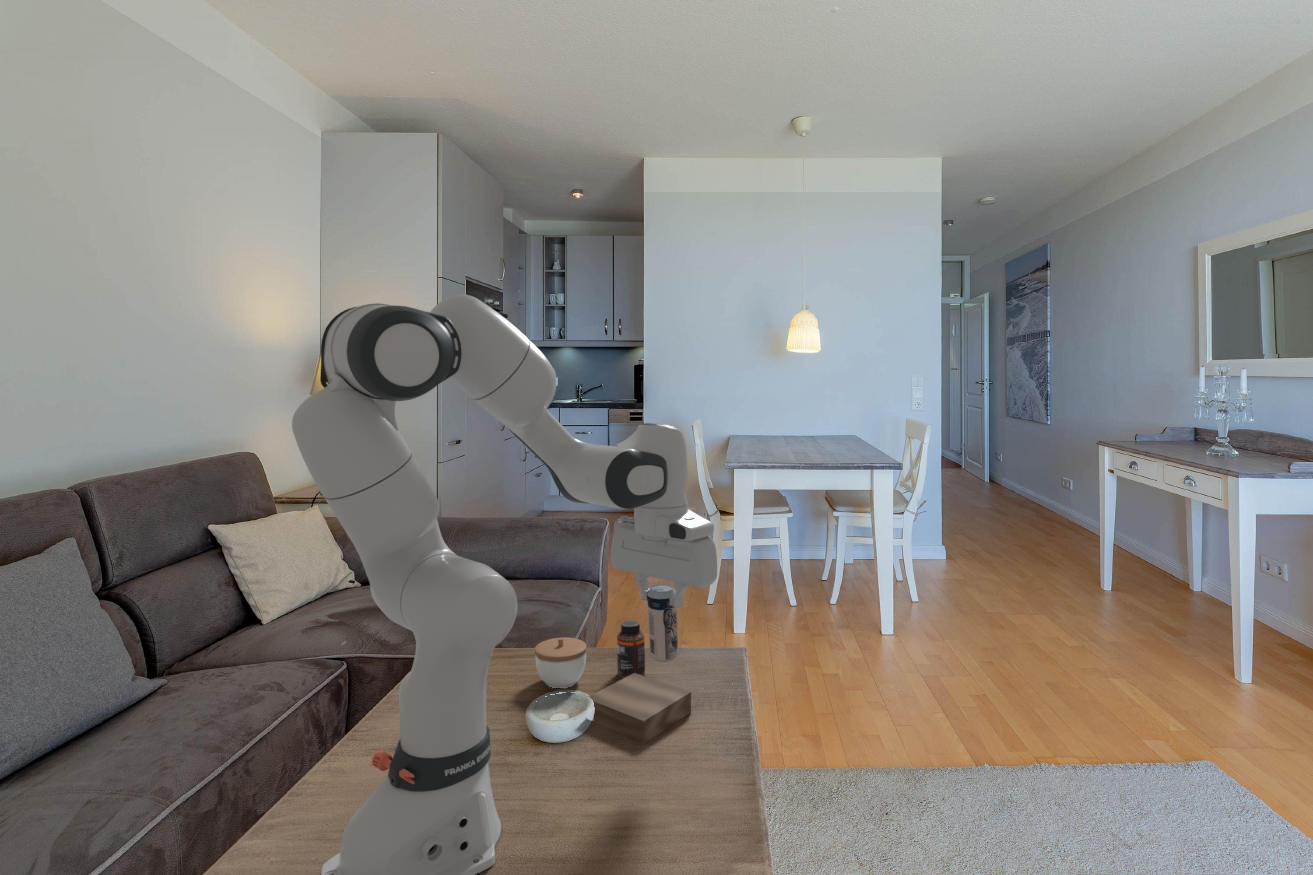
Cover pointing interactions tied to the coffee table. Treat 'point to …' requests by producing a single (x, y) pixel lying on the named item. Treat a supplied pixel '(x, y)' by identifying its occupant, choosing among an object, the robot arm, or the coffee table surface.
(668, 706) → the walnut block
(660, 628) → the beer can
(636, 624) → the supplement bottle
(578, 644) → the lidded jar
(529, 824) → the coffee table surface
